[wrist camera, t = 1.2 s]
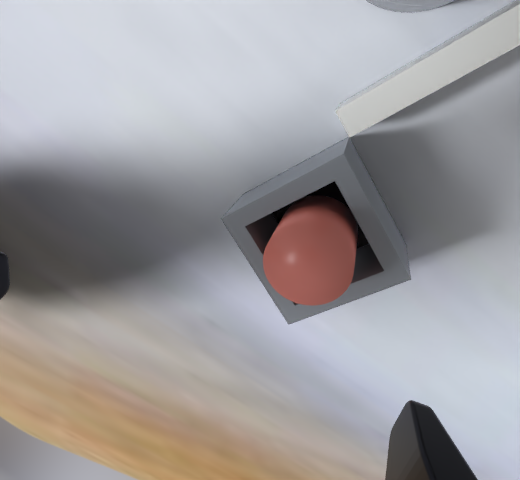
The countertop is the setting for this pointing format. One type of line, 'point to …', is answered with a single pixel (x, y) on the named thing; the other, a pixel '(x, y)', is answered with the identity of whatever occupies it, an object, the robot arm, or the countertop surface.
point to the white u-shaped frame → (433, 70)
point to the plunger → (312, 251)
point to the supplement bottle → (409, 4)
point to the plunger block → (359, 201)
